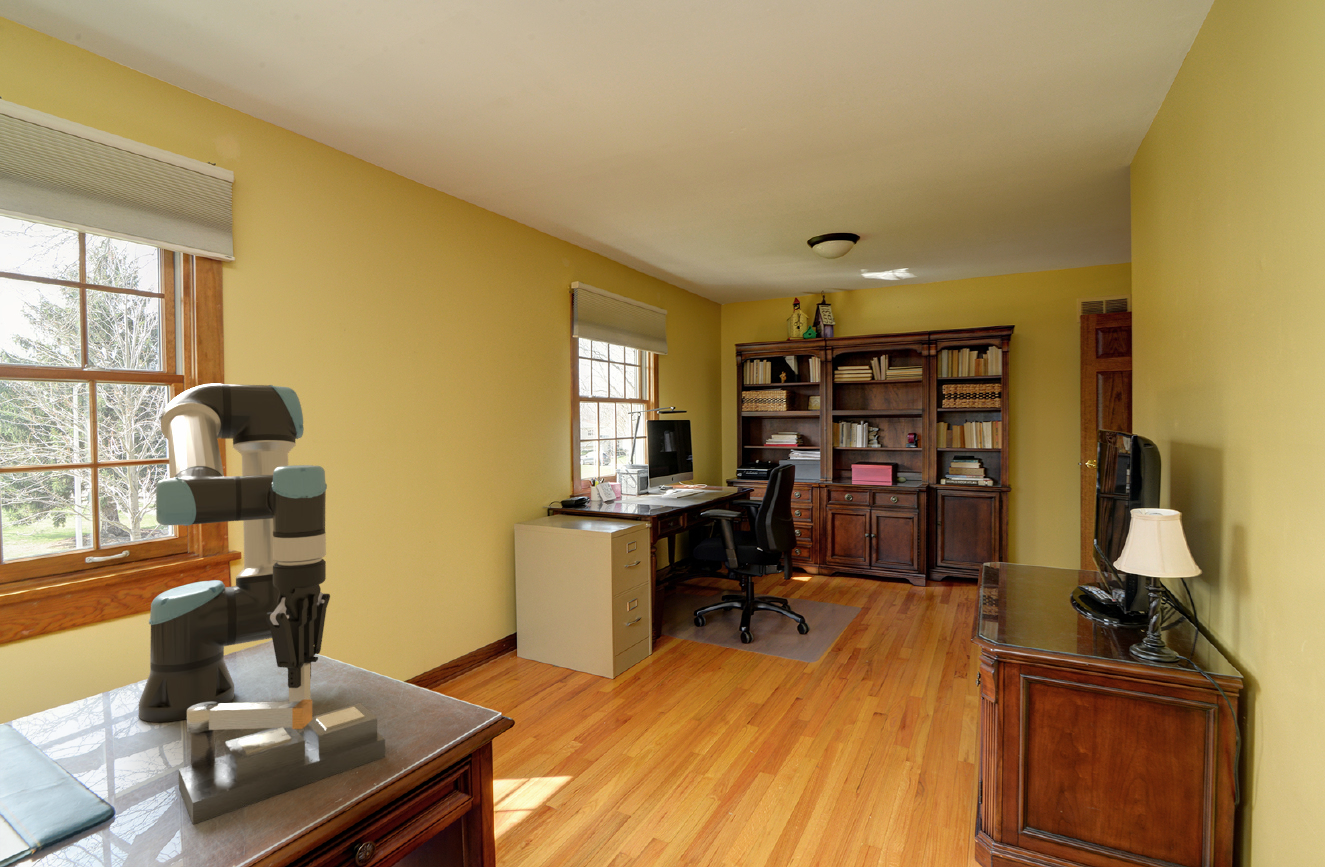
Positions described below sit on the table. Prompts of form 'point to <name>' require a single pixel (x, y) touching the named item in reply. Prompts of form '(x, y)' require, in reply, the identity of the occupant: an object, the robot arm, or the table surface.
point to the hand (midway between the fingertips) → (299, 704)
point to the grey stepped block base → (276, 760)
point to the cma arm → (248, 715)
